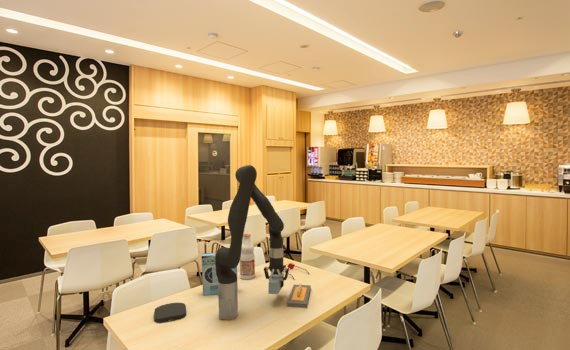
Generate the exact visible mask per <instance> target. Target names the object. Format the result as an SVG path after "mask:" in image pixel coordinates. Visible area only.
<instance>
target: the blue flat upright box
mask: <svg viewBox="0 0 570 350" xmlns="http://www.w3.org/2000/svg"><path fill="white" fill-rule="evenodd" d="M215 256H216V252H210V253H207V252H205V253H203V252H202V253H201V273H202V274H201V275H202V276H201V277H202V278H201V279H202V296H210V295H211V296H212V295H218V278H217V275H216V266H215ZM232 270H233V271H234V272H235V273H236V274H237V275H238V266H237V267H236V268H234V269H232ZM238 284H239V283H238V282H237V294H238V292H239V291H238V290H239V289H238V288H239V287H238V286H239V285H238Z"/></svg>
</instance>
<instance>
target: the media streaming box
mask: <svg viewBox="0 0 570 350" xmlns="http://www.w3.org/2000/svg"><path fill="white" fill-rule="evenodd" d="M153 313H154V322H156V323H159V324H161V323H167V322H175V321H177V320H182V319H185V317H187V306H186V304H185V303H183V302H171V303H165V304H161V305H159V306H157V307H155V308H154V312H153Z"/></svg>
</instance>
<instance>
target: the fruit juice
mask: <svg viewBox="0 0 570 350" xmlns="http://www.w3.org/2000/svg"><path fill="white" fill-rule="evenodd" d="M251 236H252V235H251V234H250V233H244V234H243V240H242V249H241V257H240V261H239V276H240V279H241V278H242V279H241V280H247V279H248V280H252V279H254V278H255V277H256V276H255V275H256V270H255V269H256V268H255V266H256V265H255V264H256V263H255V262H256V261H255V253H254V249H255V246H254V244H253V243H252V241H251ZM248 280H247V281H248Z"/></svg>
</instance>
